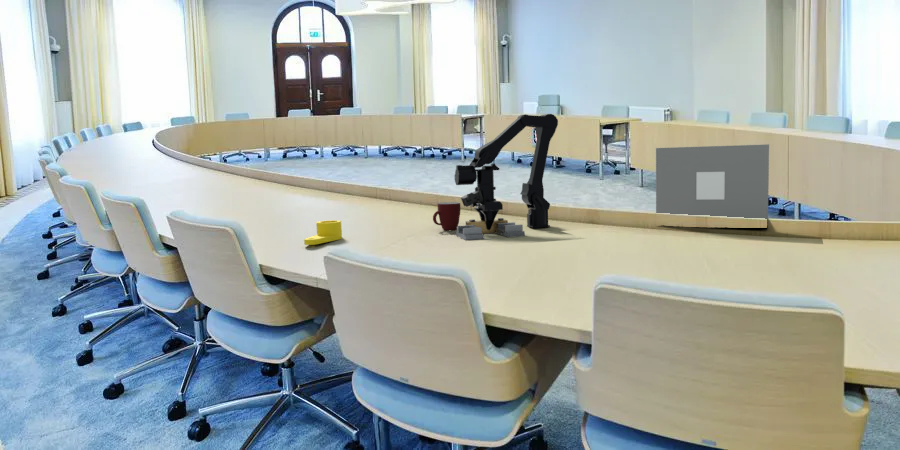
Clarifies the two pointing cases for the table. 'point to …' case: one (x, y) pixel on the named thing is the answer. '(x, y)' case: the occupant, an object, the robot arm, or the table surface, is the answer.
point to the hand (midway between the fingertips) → (486, 229)
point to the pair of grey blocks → (502, 228)
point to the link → (483, 224)
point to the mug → (448, 215)
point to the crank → (325, 232)
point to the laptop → (713, 180)
